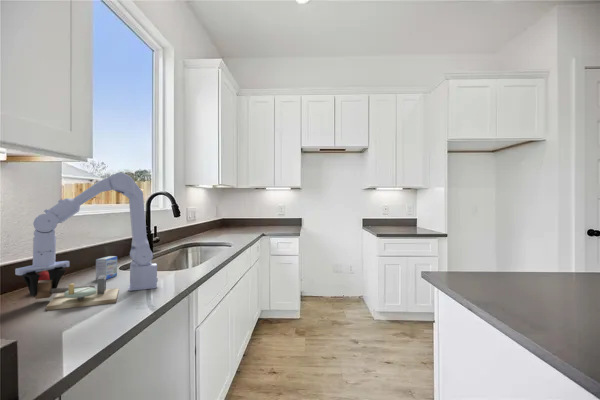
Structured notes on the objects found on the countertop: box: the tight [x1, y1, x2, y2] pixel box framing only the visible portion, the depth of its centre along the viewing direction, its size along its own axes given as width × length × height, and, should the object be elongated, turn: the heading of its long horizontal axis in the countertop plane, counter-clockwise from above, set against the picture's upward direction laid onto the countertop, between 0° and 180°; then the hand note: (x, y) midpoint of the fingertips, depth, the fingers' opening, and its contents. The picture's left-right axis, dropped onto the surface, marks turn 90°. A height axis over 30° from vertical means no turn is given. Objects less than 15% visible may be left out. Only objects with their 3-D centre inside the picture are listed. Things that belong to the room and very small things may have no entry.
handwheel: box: [64, 283, 97, 300], centre depth 100 cm, size 8×8×6 cm
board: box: [45, 287, 120, 311], centre depth 103 cm, size 18×14×1 cm
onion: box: [38, 270, 50, 281], centre depth 112 cm, size 6×6×8 cm
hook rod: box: [34, 280, 96, 300], centre depth 104 cm, size 16×4×5 cm, turn 117°
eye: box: [96, 275, 107, 295], centre depth 108 cm, size 2×6×5 cm, turn 27°
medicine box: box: [95, 255, 118, 281], centre depth 134 cm, size 8×4×9 cm, turn 179°
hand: (43, 293), depth 101 cm, fingers open, 5 cm apart
